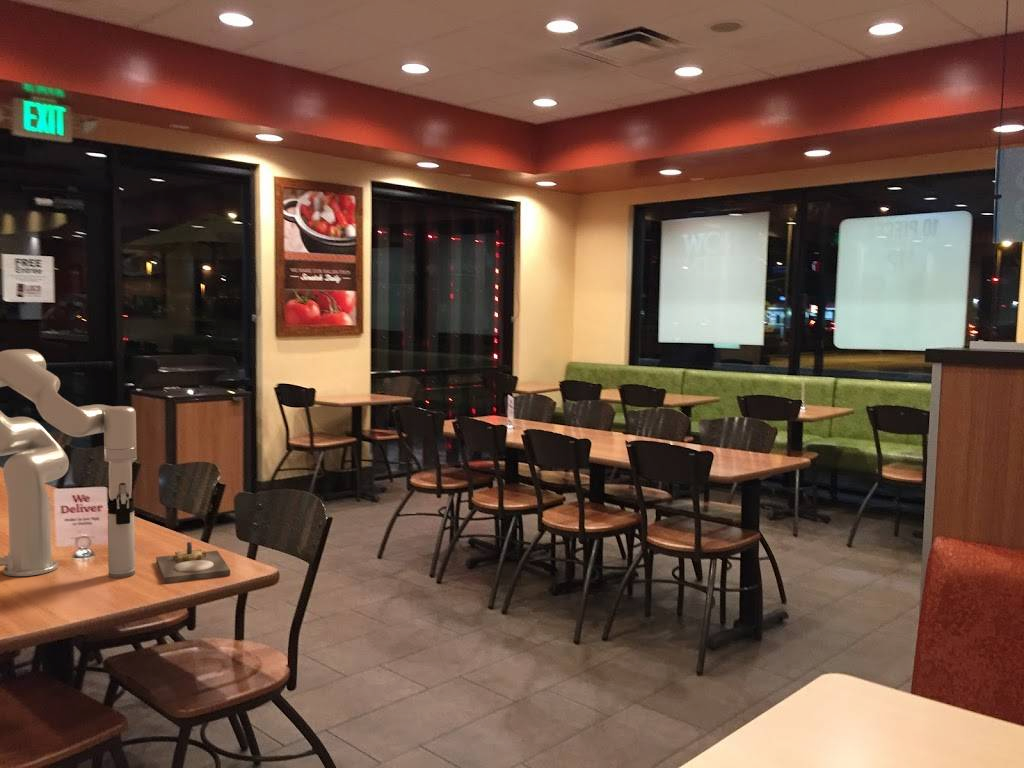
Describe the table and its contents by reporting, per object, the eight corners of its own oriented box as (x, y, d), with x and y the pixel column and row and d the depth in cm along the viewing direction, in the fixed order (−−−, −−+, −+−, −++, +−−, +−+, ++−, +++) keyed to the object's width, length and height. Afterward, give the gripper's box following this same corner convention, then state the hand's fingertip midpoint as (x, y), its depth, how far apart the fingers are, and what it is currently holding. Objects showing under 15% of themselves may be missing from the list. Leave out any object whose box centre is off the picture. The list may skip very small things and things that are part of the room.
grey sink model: (164, 583, 212) (164, 561, 212) (156, 562, 230) (156, 541, 230) (230, 575, 220) (230, 554, 220) (217, 555, 238) (217, 535, 238)
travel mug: (140, 571, 222) (139, 496, 220) (126, 579, 215) (125, 502, 214) (117, 570, 223) (116, 495, 221) (103, 577, 216) (102, 501, 214)
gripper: (102, 450, 222) (104, 514, 224) (106, 460, 207) (107, 528, 209) (133, 448, 226) (135, 511, 227) (139, 458, 211) (140, 525, 212)
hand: (121, 519), depth 218 cm, fingers open, 9 cm apart
